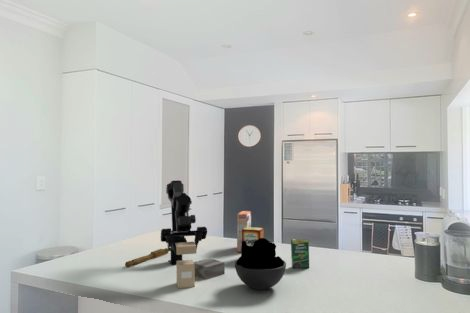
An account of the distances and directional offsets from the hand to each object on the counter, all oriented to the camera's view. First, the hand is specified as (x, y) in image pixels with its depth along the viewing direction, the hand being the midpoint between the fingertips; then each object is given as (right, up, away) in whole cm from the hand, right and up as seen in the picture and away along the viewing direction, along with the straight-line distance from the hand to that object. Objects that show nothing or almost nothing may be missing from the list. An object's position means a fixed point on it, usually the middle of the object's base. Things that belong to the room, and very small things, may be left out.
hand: (185, 252), depth 140 cm
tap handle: (-24, -15, +38) cm, 48 cm away
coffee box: (+50, -14, +24) cm, 57 cm away
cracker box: (+25, -15, +58) cm, 65 cm away
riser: (+8, -14, +15) cm, 22 cm away
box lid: (0, 0, +1) cm, 1 cm away
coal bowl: (+29, -14, -3) cm, 33 cm away
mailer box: (0, -14, +1) cm, 14 cm away
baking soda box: (+29, -14, +37) cm, 49 cm away
